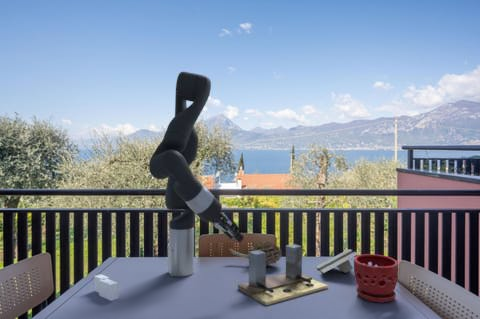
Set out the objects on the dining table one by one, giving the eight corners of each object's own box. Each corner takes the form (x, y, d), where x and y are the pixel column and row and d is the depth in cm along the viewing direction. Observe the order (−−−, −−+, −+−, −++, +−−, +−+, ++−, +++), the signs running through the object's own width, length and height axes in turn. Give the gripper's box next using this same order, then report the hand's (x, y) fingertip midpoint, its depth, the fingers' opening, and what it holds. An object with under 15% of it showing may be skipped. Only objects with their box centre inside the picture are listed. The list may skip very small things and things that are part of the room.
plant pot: (348, 289, 118) (348, 253, 117) (388, 289, 117) (388, 254, 117) (360, 305, 104) (361, 265, 104) (405, 306, 104) (405, 266, 104)
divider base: (260, 302, 107) (260, 261, 107) (237, 289, 117) (238, 251, 117) (321, 285, 121) (321, 249, 121) (296, 275, 131) (296, 241, 131)
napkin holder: (123, 302, 107) (123, 284, 107) (83, 306, 104) (83, 287, 104) (127, 285, 121) (127, 269, 121) (91, 288, 119) (91, 271, 119)
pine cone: (282, 263, 146) (282, 239, 146) (280, 270, 137) (281, 245, 137) (230, 260, 150) (230, 237, 150) (225, 267, 141) (225, 242, 141)
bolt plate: (266, 305, 104) (266, 301, 104) (252, 297, 110) (252, 294, 110) (327, 288, 118) (327, 285, 118) (313, 282, 124) (313, 279, 124)
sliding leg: (268, 294, 108) (268, 259, 108) (248, 284, 117) (248, 251, 117) (278, 292, 110) (278, 257, 110) (258, 282, 119) (258, 250, 119)
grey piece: (339, 292, 125) (370, 264, 126) (322, 273, 127) (353, 245, 127) (330, 283, 141) (357, 258, 142) (315, 266, 143) (342, 241, 144)
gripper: (222, 195, 101) (256, 233, 107) (200, 191, 113) (232, 225, 119) (206, 216, 98) (242, 253, 105) (185, 209, 110) (218, 243, 117)
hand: (236, 238), depth 112 cm, fingers open, 5 cm apart
